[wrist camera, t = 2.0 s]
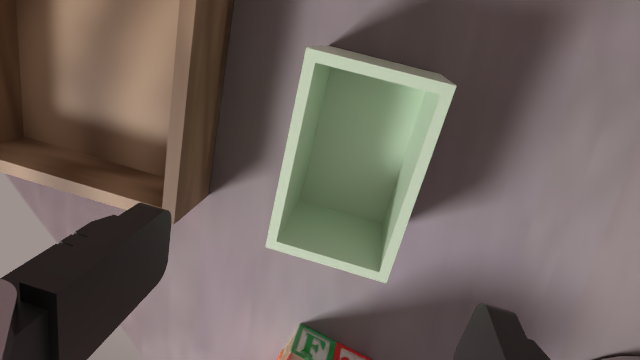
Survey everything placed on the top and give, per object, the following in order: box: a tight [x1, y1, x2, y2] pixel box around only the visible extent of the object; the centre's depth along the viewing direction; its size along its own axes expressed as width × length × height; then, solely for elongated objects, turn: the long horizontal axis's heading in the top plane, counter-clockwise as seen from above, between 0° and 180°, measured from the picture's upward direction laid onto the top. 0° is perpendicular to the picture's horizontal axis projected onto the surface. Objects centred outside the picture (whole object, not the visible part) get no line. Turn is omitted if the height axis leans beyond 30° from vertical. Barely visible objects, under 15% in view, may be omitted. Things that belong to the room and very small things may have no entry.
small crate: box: [265, 46, 456, 283], centre depth 21 cm, size 6×10×6 cm, turn 167°
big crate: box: [0, 0, 234, 224], centre depth 22 cm, size 14×15×4 cm
